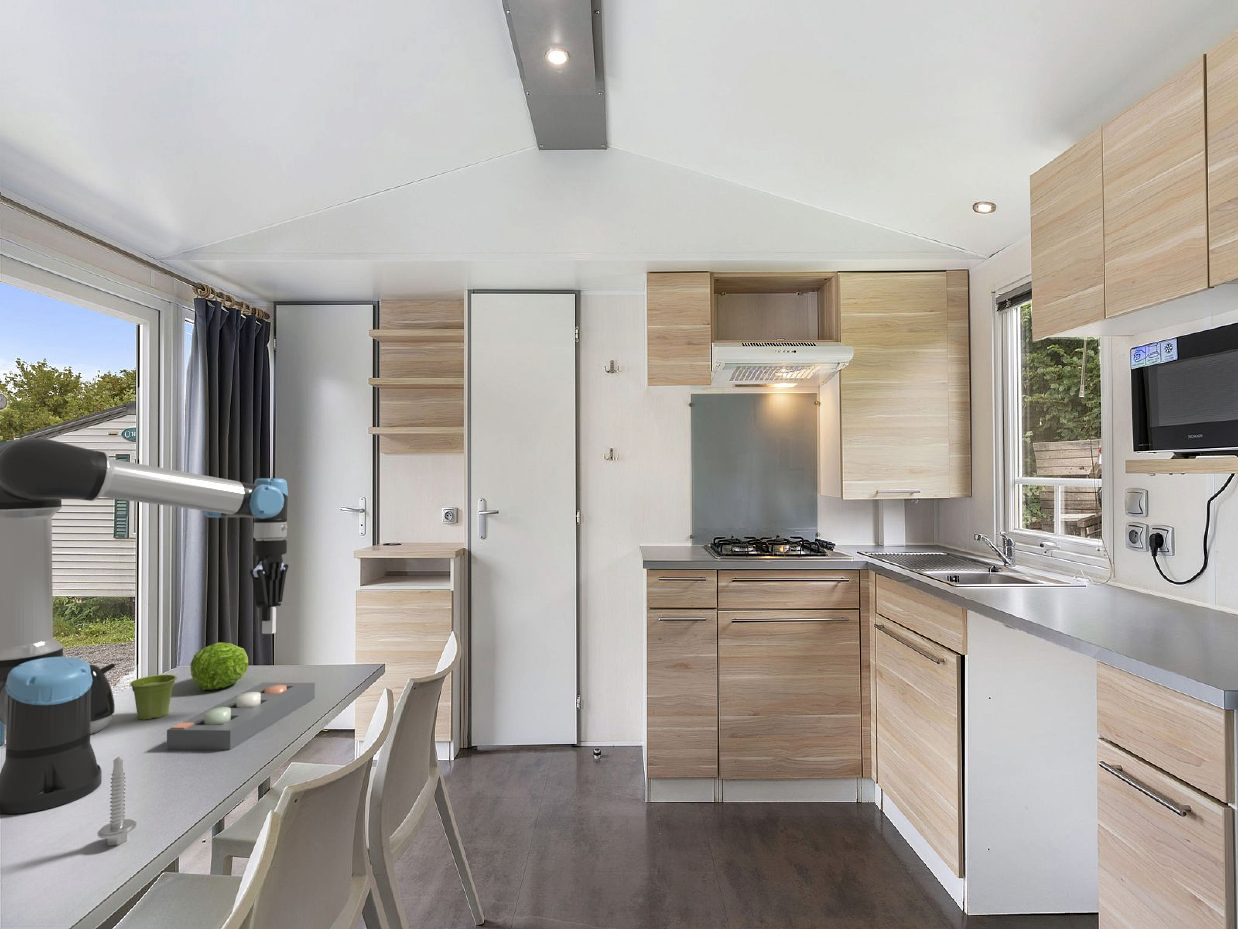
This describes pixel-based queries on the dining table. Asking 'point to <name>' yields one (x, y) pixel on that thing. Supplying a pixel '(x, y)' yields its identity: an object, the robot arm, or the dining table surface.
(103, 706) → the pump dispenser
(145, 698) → the plant pot
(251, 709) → the button console
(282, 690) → the peach rounded knob
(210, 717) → the sage button
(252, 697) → the cream button
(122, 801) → the screw
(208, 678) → the lettuce
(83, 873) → the dining table surface
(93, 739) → the dining table surface
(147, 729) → the dining table surface
